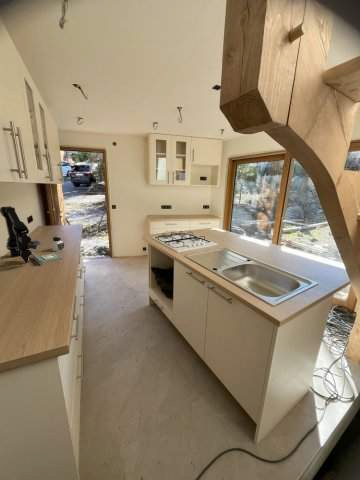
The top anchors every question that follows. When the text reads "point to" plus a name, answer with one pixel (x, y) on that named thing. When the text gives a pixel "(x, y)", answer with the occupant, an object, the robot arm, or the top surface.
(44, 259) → the resting mat
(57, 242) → the medicine bottle
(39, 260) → the gray wall
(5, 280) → the top surface
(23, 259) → the ball
